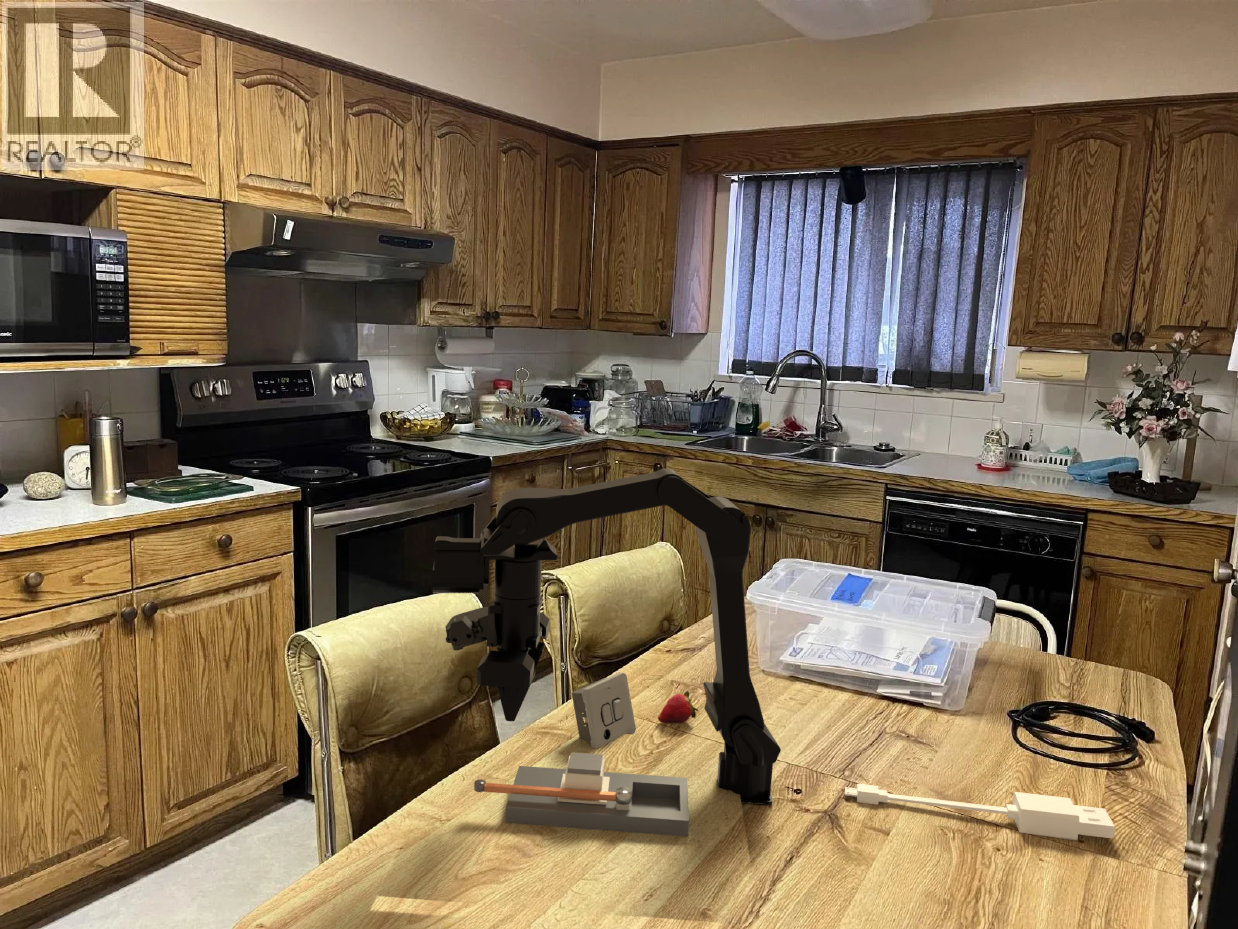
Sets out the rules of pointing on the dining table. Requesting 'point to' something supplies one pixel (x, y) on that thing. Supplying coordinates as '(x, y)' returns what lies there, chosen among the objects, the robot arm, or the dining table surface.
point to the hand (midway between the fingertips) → (513, 711)
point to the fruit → (678, 709)
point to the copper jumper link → (556, 792)
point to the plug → (585, 776)
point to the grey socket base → (650, 810)
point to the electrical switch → (604, 710)
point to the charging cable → (1017, 812)
